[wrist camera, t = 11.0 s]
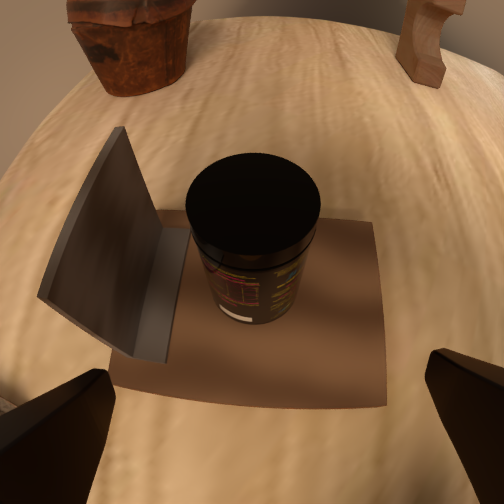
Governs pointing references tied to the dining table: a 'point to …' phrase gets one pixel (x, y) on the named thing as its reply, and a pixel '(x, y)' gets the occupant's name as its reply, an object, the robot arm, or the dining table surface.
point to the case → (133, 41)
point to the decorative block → (425, 39)
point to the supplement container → (253, 232)
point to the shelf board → (213, 304)
